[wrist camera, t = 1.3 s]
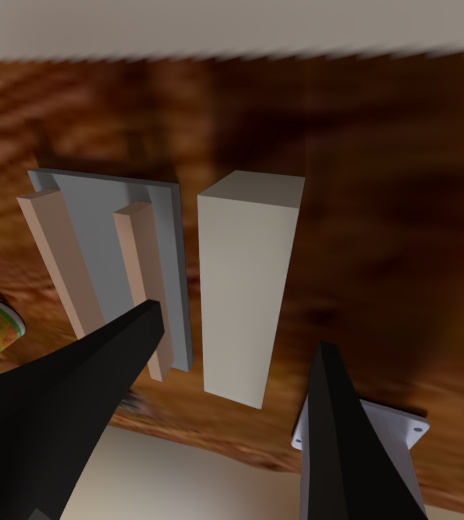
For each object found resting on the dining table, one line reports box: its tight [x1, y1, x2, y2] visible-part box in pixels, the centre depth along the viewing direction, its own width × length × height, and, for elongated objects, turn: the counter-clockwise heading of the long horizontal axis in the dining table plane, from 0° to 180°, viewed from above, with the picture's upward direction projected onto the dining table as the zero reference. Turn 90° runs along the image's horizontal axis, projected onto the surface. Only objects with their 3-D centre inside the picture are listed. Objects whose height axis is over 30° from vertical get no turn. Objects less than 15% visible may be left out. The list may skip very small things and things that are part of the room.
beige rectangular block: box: [197, 170, 305, 409], centre depth 13 cm, size 12×4×5 cm, turn 178°
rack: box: [17, 168, 193, 382], centre depth 18 cm, size 16×10×3 cm, turn 178°
